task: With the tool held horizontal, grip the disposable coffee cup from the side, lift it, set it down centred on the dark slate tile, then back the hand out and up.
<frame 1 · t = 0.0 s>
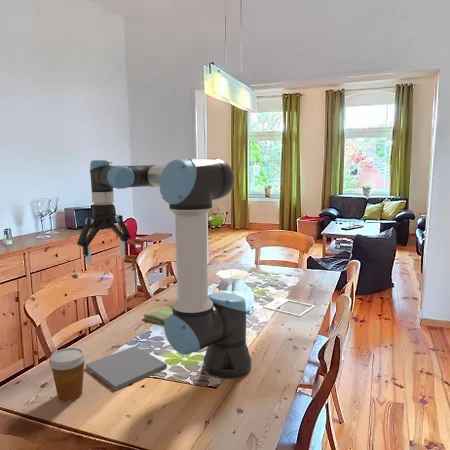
hand: (106, 261, 149), 28 cm above the table, tool pointing down, fingers open, 13 cm apart
printed cardboard box: (194, 295, 196), on the table
disposable coffee cup: (70, 395, 113), on the table
washcloth: (168, 319, 167), on the table
slate tile: (126, 367, 127), on the table
photo frame: (289, 308, 179), on the table
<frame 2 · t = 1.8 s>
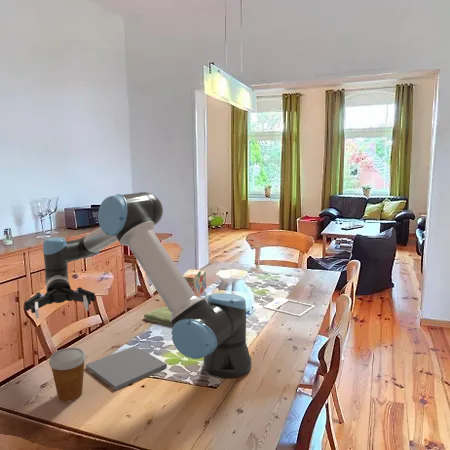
hand: (62, 310, 118), 21 cm above the table, tool horizontal, fingers open, 13 cm apart
nothing on the table moved.
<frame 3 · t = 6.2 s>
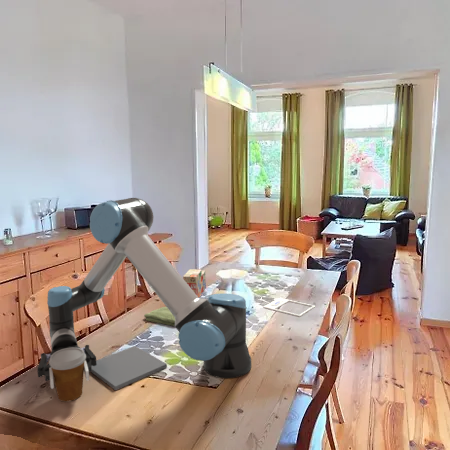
hand: (70, 379, 107), 7 cm above the table, tool horizontal, fingers closed on disposable coffee cup, 8 cm apart
disposable coffee cup: (70, 395, 113), on the table, touching gripper
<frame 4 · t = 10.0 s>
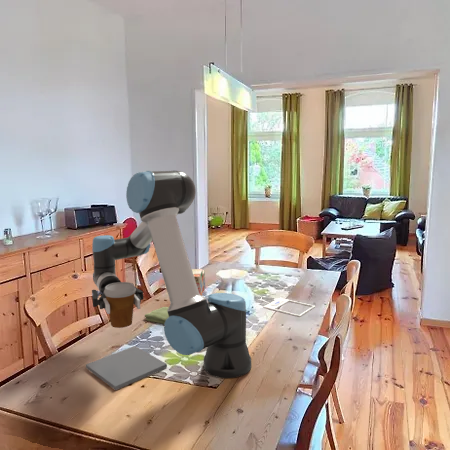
hand: (124, 306, 119), 22 cm above the table, tool horizontal, fingers closed on disposable coffee cup, 8 cm apart
disposable coffee cup: (121, 324, 124), point 15 cm above the table, touching gripper
when the fingers open (9 cm above the table, at t = 13.7 s): disposable coffee cup moves 1 cm, point 1 cm above the table.
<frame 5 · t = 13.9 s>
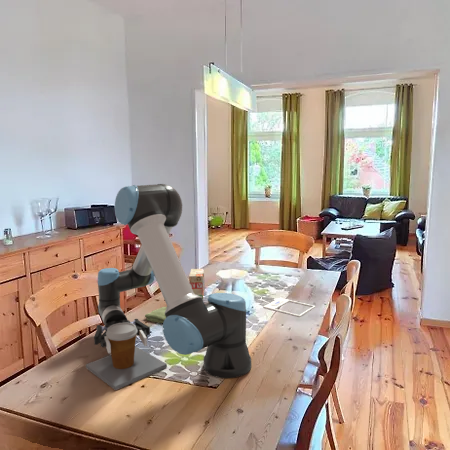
hand: (127, 345, 122), 9 cm above the table, tool horizontal, fingers open, 10 cm apart
disposable coffee cup: (123, 364, 127), point 1 cm above the table, touching gripper
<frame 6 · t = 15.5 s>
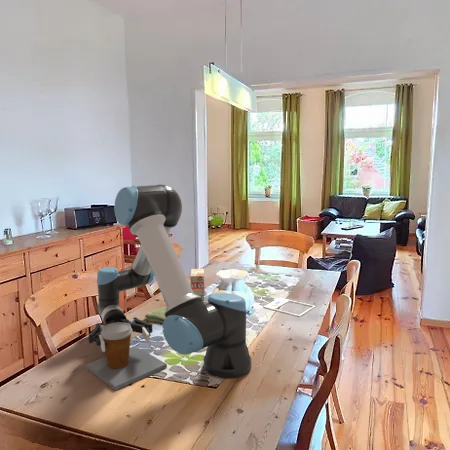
hand: (126, 343, 123), 9 cm above the table, tool horizontal, fingers open, 13 cm apart
disposable coffee cup: (118, 364, 127), point 1 cm above the table, touching gripper, slate tile
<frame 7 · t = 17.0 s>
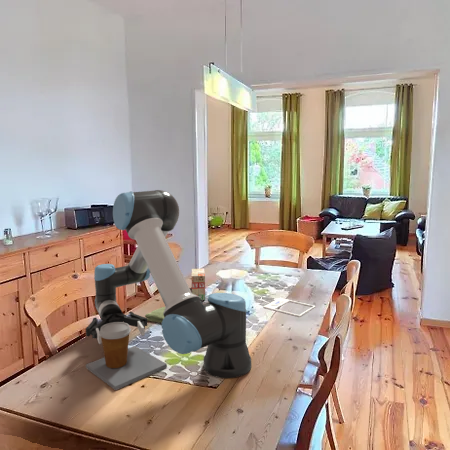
hand: (122, 335, 128), 9 cm above the table, tool horizontal, fingers open, 13 cm apart
disposable coffee cup: (116, 364, 127), point 1 cm above the table, touching slate tile
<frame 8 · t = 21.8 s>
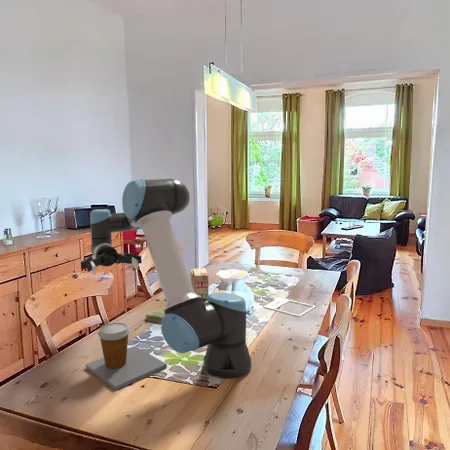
hand: (116, 267, 131), 30 cm above the table, tool horizontal, fingers open, 13 cm apart
at the end: disposable coffee cup inside the target area on the slate tile (3.3 cm from its centre), point 1.0 cm above the slate tile's base; disposable coffee cup tilted 0°; the gripper is holding nothing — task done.
